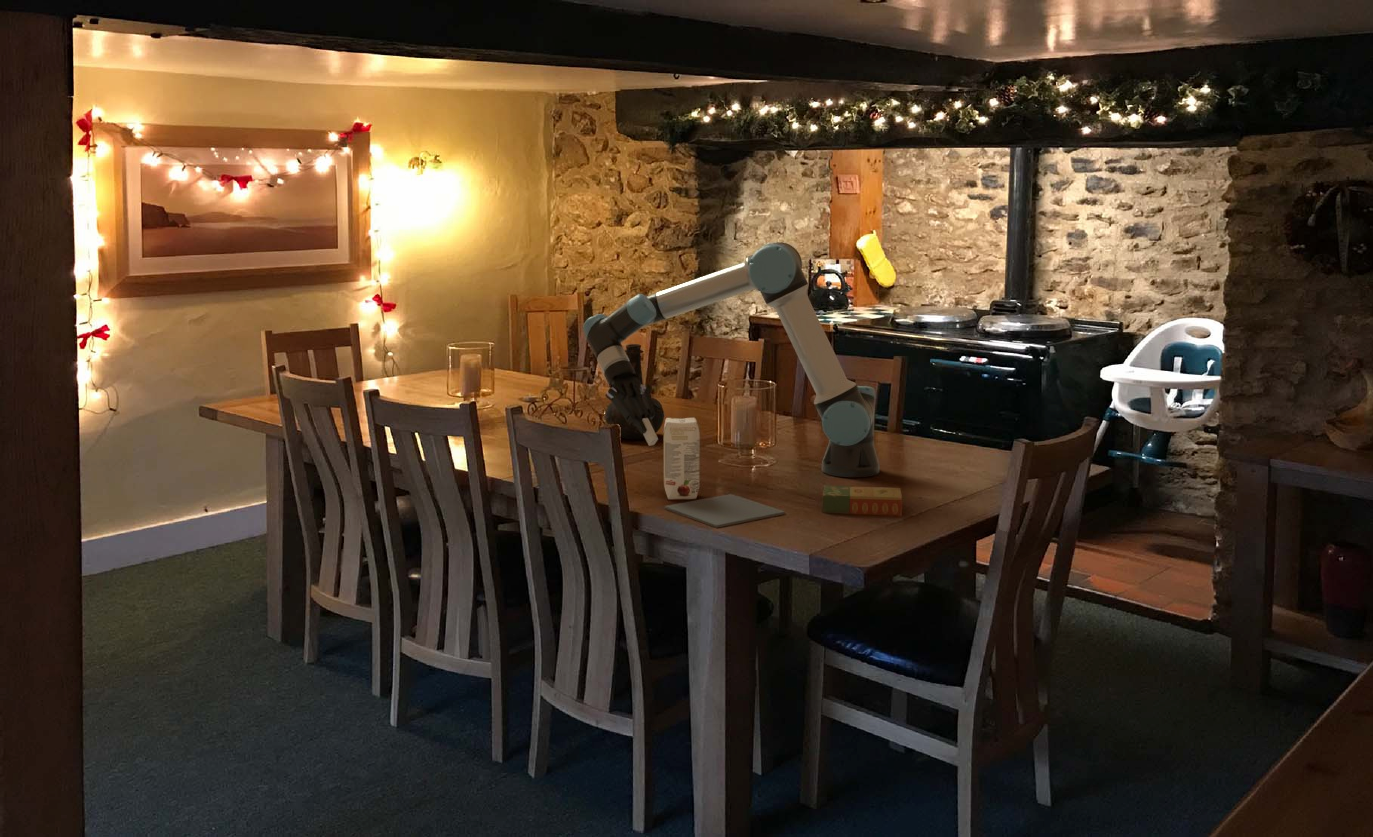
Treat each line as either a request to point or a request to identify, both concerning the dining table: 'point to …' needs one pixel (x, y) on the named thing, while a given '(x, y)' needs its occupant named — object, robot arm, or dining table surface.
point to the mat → (724, 510)
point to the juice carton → (681, 458)
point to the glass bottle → (616, 417)
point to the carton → (862, 500)
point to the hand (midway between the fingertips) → (653, 442)
